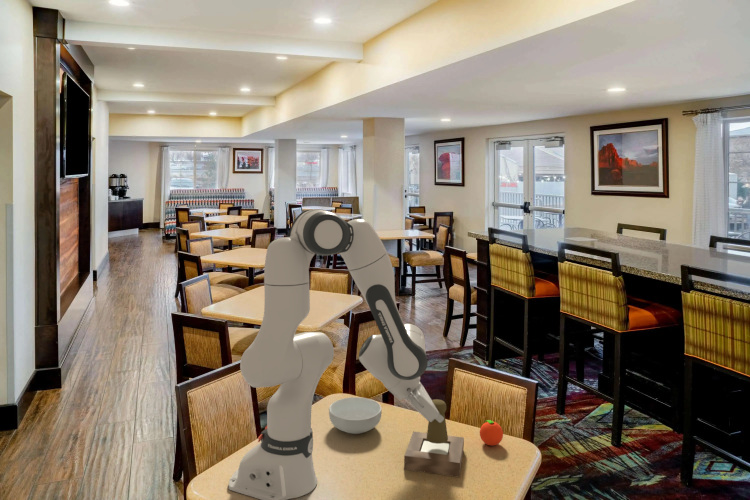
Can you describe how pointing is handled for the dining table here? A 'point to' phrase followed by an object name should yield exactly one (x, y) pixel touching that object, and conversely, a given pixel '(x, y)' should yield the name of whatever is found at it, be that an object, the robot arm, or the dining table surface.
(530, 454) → the dining table surface
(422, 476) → the dining table surface
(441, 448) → the cream square tile
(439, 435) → the olive pepper mill
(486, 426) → the clementine
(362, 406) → the cereal bowl
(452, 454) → the socket block
